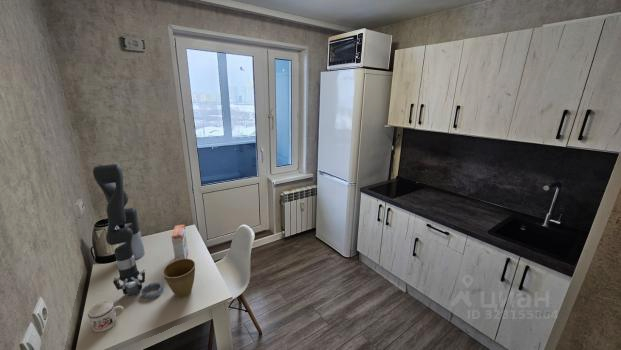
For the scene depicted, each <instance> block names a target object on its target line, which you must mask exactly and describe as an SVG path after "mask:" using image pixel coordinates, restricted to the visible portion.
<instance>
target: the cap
mask: <svg viewBox="0 0 621 350" xmlns="http://www.w3.org/2000/svg"><path fill="white" fill-rule="evenodd" d="M125 288H126V292H127V295H126V296H127V297H129V298H130V297H132V298H133V297H134V296H137V295H138V294H139V293H140V292H141V290H140V291H139V287H138V284H137V283H136V282H134V281H133V282H129V283H126V286H125Z"/></svg>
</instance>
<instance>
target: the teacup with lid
mask: <svg viewBox="0 0 621 350" xmlns="http://www.w3.org/2000/svg"><path fill="white" fill-rule="evenodd" d="M117 309H121V310H120V312H118V313H116V310H117ZM123 312H124V307H123V306H122V305H117V306H115V303H114V302H113V301H111V300H110V301H109V300H105V301H101V302H99V303H96V304H95V305H93V306H92V307H91V308H90V309H89V310H88V313H87V317H89V319H90V324H91V327H92V329H93V332H96V333H103V332H105V331H107V330H109V329H111V328H112V327H114V326H115V325H116V323H117V322H118V317H119V316H120V315H122V314H123Z"/></svg>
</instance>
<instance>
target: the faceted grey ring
mask: <svg viewBox="0 0 621 350" xmlns="http://www.w3.org/2000/svg"><path fill="white" fill-rule="evenodd" d="M152 289H157V290H156V291H154V292H152V293H147V292H148V291H150V290H152ZM140 292H141V298H142V299H144V300H153V299H156V298H158V297H159V296H161V295H162V294H163V292H164V285H163V283H162V282H160V281H155V282H152V283H149V284H147V285H145V286H144V287H142V289H141V291H140Z"/></svg>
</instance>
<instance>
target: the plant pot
mask: <svg viewBox="0 0 621 350" xmlns="http://www.w3.org/2000/svg"><path fill="white" fill-rule="evenodd" d="M195 272H196V263H195V261H194V260H193V259H190V258H187V259H179V260H176V261H175V260H174V261H172V262H170V263H168V264H167V265H165V267H164V268H163V270H162V275H163V277H164V280H165V281H166V283H167V286H168V287H169V289H170V290H171V291H172V293H173V295H175V297H176V298H180V299H181V298H185V297H188V296H190V294H191V292H192V289H193V287H194V286H193V285H194V281H195V275H196V273H195Z"/></svg>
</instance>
